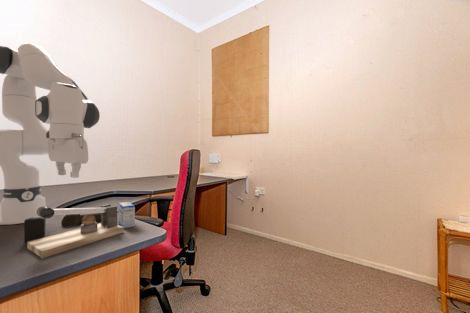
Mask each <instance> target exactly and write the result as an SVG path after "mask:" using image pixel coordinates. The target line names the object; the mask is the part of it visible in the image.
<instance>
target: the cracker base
mask: <svg viewBox="0 0 470 313" xmlns="http://www.w3.org/2000/svg"><path fill="white" fill-rule="evenodd" d="M100 207H107V213H101V220H100V222H99V223H98V221H95V223H94V224H92V225H84V224H83V223H80V224H79V226H80V227H79V228H76V229H71V230H68V231H64V232H61V233H57V234H54V235H52V234H51V235H48V236H45V237H44V238H40V239H37V240H33V241H29V242H27V244H26V245H27V250H29V251H30V252H32V253H33V254H35V255H36V256H39V257H40V258H41V259H44V258H48V257H51V256H54V255H57V254H61V253H63V252H65V251H66V252H67V251H69V250H72V249H76V248H79V247H83V246H85V245H89V244H92V243H95V242H98V241H101V240H103V239H108V238H110V237H113V236H117V235H119V234H123V233H124V228H123V227H122V226H121V225H120V224H119V225H118V205H111V204H109V203H107V204H102V205H100Z"/></svg>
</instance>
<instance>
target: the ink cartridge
mask: <svg viewBox="0 0 470 313" xmlns="http://www.w3.org/2000/svg"><path fill="white" fill-rule="evenodd" d="M46 219H47V218H43V217H35V218H33V217H32V218H28V219H26V220H24V223H23V224H24V225H23V226H24V230H23V232H24V238H23V240H24V241H23V242H24V244H25V245H27V242H29V241H33V240H37V239H40V238H44V237H46Z"/></svg>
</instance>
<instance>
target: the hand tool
mask: <svg viewBox="0 0 470 313" xmlns="http://www.w3.org/2000/svg"><path fill="white" fill-rule="evenodd" d="M91 214H92V215H94V216H95V218H96V221H95V222H98V221H99V222H101V213H91ZM86 215H88V214H68V215H63V218H62V219H61V222H60V223H61V226H62V227H70V225H71V226H78V224H79V225H81V224H83V223H82V219H83V217H84V216H86Z"/></svg>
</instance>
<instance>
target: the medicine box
mask: <svg viewBox="0 0 470 313" xmlns="http://www.w3.org/2000/svg"><path fill="white" fill-rule="evenodd" d="M117 204H118V205H117V224H119V226H122V227H123V229H127V228H132V227H133V228H134V227H135V226H136V225H135V223H136V222H135V220H136V216H135V215H136V207H135V205H134V204H133V203H132V202H130V201H125V202H124V201H123V202H118V203H117Z"/></svg>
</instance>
